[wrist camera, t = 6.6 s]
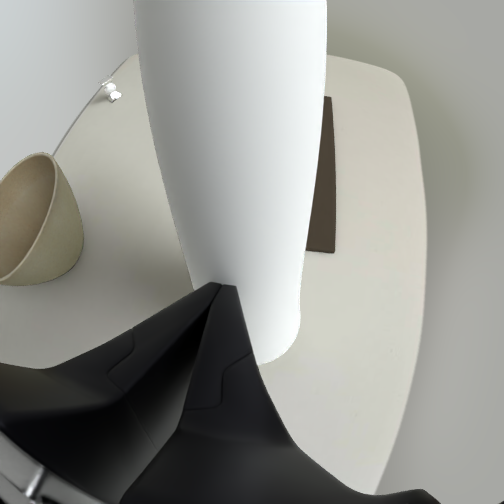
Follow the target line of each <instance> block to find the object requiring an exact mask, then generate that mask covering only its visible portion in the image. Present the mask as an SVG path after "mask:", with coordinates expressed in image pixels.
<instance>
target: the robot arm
mask: <svg viewBox="0 0 504 504" xmlns="http://www.w3.org/2000/svg"><path fill="white" fill-rule="evenodd" d="M253 353H254V352H253V348H252V345H251V341H250V337H249V333H248V330H247V326H246V322H245V318H244V314H243V310H242V306H241V302H240V298H239V295H238V291H237V287H236V286H234V285H227V284H223V285H222V284H221V283H216V282H209V283H207V284H205V285H203V286H202V287H200V288H198V289H197V290H195V291H193V292H192V293H190V294H188V295H187V296H185V297H183V298H182V299H180V300H178V301H177V302H175V303H173V304H172V305H170V306H168V307H167V308H165V309H163V310H161V311H160V312H158V313H156V314H155V315H153V316H151V317H150V318H148V319H146V320H145V321H143V322H141V323H140V324H138V325H136V326H134V327H133V328H132V329H129V330H128V331H126V332H124V333H122V334H121V335H119V336H117V337H115V338H114V339H112V340H110V341H108V342H106V343H104V344H102V345H100V346H98V347H96V348H94V349H92V350H90V351H88V352H86V353H83V354H81V355H79V356H77V357H75V358H72V359H70V360H68V361H66V362H64V363H61V364H59V365H57V366H54V367H51V368H45V369H33V368H27V367H20V366H15V365H9V364H4V363H0V504H441V503H439V502H438V501H437V500H436V499H435V498H434V497H433V496H431V495H430V494H428V493H427V492H426V491H425V490H423V489H415V490H409V491H403V492H399V493H393V494H387V495H368V494H363V493H360V492H357V491H354V490H352V489H351V488H349V487H347V486H346V485H344V484H343V483H342V482H340V481H339V480H338V479H336V478H335V477H334V476H333V475H331V474H330V473H329V472H327V471H326V470H325V469H324V468H322V467H321V466H320V465H319V464H317V463H316V462H315V461H314V460H313V459H311V458H310V457H309V456H308V455H307V454H305V453H304V452H303V451H302V450H301V449H300V448H299V447H298V446H297V445H296V443H295V442H294V441H293V439H292V438H291V436H290V435H289V433H288V431H287V429H286V428H285V426H284V424H283V422H282V420H281V418H280V416H279V414H278V412H277V410H276V408H275V406H274V404H273V402H272V400H271V398H270V396H269V394H268V392H267V389H266V387H265V385H264V383H263V380H262V378H261V375H260V372H259V369H258V366H257V363H256V359H255V355H254V354H253ZM499 504H504V501H503V502H501V503H499Z"/></svg>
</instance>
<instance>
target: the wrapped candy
mask: <svg viewBox="0 0 504 504" xmlns="http://www.w3.org/2000/svg"><path fill="white" fill-rule="evenodd" d="M112 79H113V77H111V76H109V75H108V76H106V77H105V78H104V79H102V80H101V81H100V82H98V83H100V84H102V85H104V86H105V88H104V91H105V93H106V94H109V95H108V100H109V101H111V102H113V101H115V100H116V99H117V98H119V97H120V96H121V94H120V93H118V92H116V91H115V90H116V85H114V84H113V83H112Z"/></svg>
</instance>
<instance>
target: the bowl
mask: <svg viewBox="0 0 504 504" xmlns="http://www.w3.org/2000/svg"><path fill="white" fill-rule="evenodd" d="M83 240H84V237H83V228H82V222H81V217H80V213H79V210H78V206H77V203H76V200H75V197H74V195H73V192H72V190H71V187H70V185H69V183H68V181H67V179H66V177H65V176H64V174H63V172H62V170H61V169H60V167H59V165H58V164H57V162H56V161H55V160H54V158H53V157H52V156H51V155H50V154H48V153H44V152H41V153H35V154H32V155H29V156H27V157H25V158H24V159H22V160H21V161H19V162H18V163H17V164H16V165H14V166H13V167H12V168H11V169H10V170H9V171H8V173H7V174H6V175H5V176H4V177H3V178H2V180H1V181H0V284H1V285H9V286H27V285H34V284H39V283H43V282H47V281H50V280H52V279H55V278H57V277H59V276H61V275H63V274H65V273H66V272H68V271H69V270H70V269H71V268H72V267H73V266H74V265H75V264H76V262H77V260H78V258H79V256H80V254H81V251H82V248H83Z"/></svg>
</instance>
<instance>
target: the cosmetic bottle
mask: <svg viewBox="0 0 504 504" xmlns="http://www.w3.org/2000/svg"><path fill="white" fill-rule="evenodd" d="M326 4H327V3H326V0H134V14H135V26H136V36H137V45H138V54H139V62H140V70H141V77H142V83H143V89H144V95H145V100H146V106H147V111H148V116H149V122H150V127H151V131H152V136H153V141H154V146H155V150H156V154H157V158H158V163H159V167H160V171H161V175H162V179H163V183H164V187H165V190H166V194H167V198H168V202H169V205H170V209H171V213H172V216H173V220H174V223H175V227H176V230H177V234H178V237H179V241H180V244H181V248H182V251H183V254H184V258H185V261H186V264H187V268H188V271H189V275H190V278H191V282H192V285H193V289H194V291H195V290H197V289H198V288H200V287H202V286H203V285H205V284H207V283H209V282H216V283H221V284H222V285H223V284H227V285H234V286H236V287H237V291H238V295H239V298H240V302H241V306H242V310H243V314H244V318H245V322H246V326H247V330H248V333H249V337H250V341H251V345H252V348H253V352H254V353H253V354H254V355H255V359H256V363H257V365H261V364H265V363H268V362H270V361H272V360H275V359H276V358H278V357H279V356H281V355H282V354H283V353H285V352H286V351H287V350H288V349H289V348H290V346H291V345H292V343H293V342H294V340H295V338H296V336H297V334H298V331H299V327H300V307H299V300H300V285H301V276H302V269H303V262H304V255H305V249H306V242H307V236H308V229H309V222H310V216H311V209H312V202H313V195H314V187H315V180H316V172H317V164H318V155H319V147H320V137H321V127H322V116H323V103H324V89H325V73H326V40H327V39H326V38H327V34H326V33H327V5H326Z"/></svg>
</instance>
